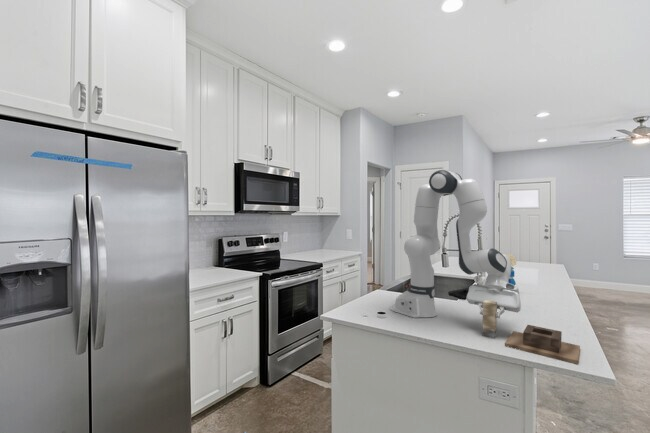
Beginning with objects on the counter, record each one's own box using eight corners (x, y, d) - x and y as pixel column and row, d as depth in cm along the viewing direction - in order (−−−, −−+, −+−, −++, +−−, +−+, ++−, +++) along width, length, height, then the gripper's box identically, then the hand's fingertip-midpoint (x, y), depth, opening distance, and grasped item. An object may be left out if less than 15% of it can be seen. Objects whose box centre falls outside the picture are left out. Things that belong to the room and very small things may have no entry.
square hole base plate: (504, 346, 124) (505, 330, 123) (513, 333, 136) (513, 319, 136) (578, 364, 109) (578, 346, 109) (579, 348, 122) (580, 333, 122)
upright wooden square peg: (482, 335, 133) (483, 301, 133) (484, 333, 136) (485, 300, 136) (494, 338, 131) (495, 304, 130) (496, 335, 133) (497, 302, 133)
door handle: (491, 293, 192) (467, 286, 206) (469, 298, 182) (445, 290, 196) (490, 299, 192) (466, 291, 206) (468, 304, 182) (445, 295, 196)
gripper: (468, 279, 145) (461, 306, 138) (522, 287, 132) (516, 317, 124) (471, 287, 148) (464, 314, 141) (523, 295, 135) (518, 325, 128)
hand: (489, 315), depth 133 cm, fingers closed on upright wooden square peg, 4 cm apart
